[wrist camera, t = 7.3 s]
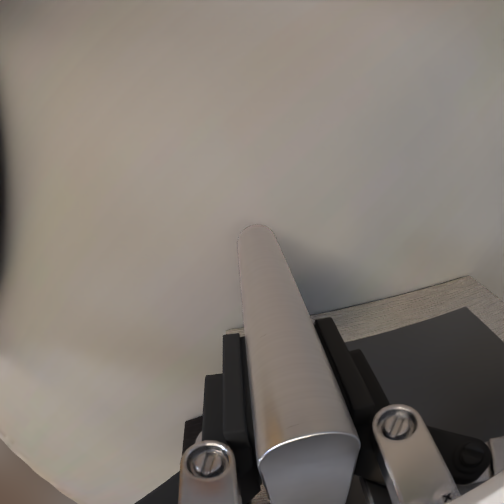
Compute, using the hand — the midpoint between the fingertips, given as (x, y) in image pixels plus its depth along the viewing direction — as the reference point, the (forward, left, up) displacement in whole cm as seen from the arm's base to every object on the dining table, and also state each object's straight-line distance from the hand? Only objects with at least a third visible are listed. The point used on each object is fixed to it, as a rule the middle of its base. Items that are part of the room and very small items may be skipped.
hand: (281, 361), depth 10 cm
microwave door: (+6, -4, -10) cm, 12 cm away
